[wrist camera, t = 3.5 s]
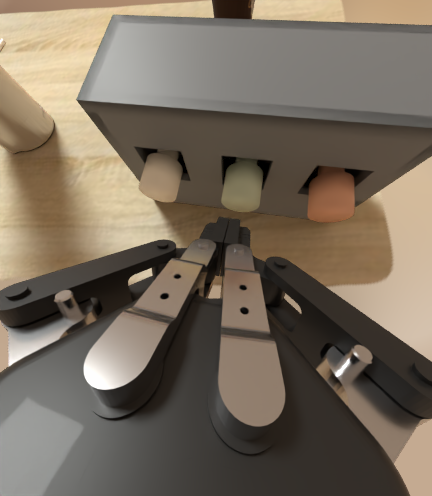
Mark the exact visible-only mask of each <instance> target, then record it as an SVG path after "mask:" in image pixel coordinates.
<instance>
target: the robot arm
mask: <svg viewBox="0 0 432 496" xmlns="http://www.w3.org/2000/svg"><path fill="white" fill-rule="evenodd" d="M53 127H54V123H53V119H52V118H51V116H50V115H49V114H48V113H47V112H46V111H45V110H44V109H43V108H42V107H41V106H40V105H39V104H38V103H37V102H36V101H35V100H34V99H33V98H32V97H31V96H30V95H29V94H28V93H27V92H26V91H25V90H24V89H23V88H22V87H21V86H20V85H19V84H18V83H17V82H16V81H15V80H14V79H13V78H12V77H11V76H10V75H9V74H8V73H7V72H6V71H5V70H4V69H3V68H2V67H1V66H0V145H1V146H2V147H4V148H5V149H7V150H8V151H10V152H11V153H13V154H14V153H16V152H18V151H28V150H32V149H35V148H37V147H39V146H41V145H42V144H43V143H44V142H46V141H47V139H48V138H49V137H50V135H51V134H52V131H53ZM149 268H152V273H153V276H151V277H148V278H146V279H144V280H141V281H139V282H137V283H134V284H132V285H130V286H128V280H129V278H130V277H131V276H133V275H134V274H137V273H139V272H142V271H144V270H147V269H149ZM220 270H221V273H220ZM219 274H220V276H222V277H223V278H222V286H221V297H220V299H208V296H209V293H210V290H211V288H212V285H213V280H214V277H215V275H216V276H219ZM285 293H286V294H287V295H289V296H290V297H291V298H292V299H293V300H294V301H295V302H296V303H298V305H299V306H300V308H301V311H302V314H300V313H299V312H298V311H297V310H296V309H295V308H294V307H293V306H291V304H289V303H288V302H287V301H286V300H285V299H284V296H285ZM0 320H1V323H2V325H3V326H4V328H5V329H6V330H7V331H8V335H9V336H8V337H9V339H8V341H9V342H8V347H9V367H7V368H6V369H4V370H3V371H2V372H0V496H410V494H409V492H408V490H407V487H406V485H405V483H404V481H403V479H402V477H401V475H400V474H399V472H398V470H397V469H396V467H395V465H394V462H395V461H396V459H397V458H398V456H399V454H400V453H401V451H402V449H403V448H404V446H405V445H406V443H407V441H408V440H409V438H410V436H411V435H412V433H413V432H414V430H415V429H416V427H418V426H419V425H421V424H423V423H425V422H427V421H429V420H431V419H432V362H431V361H430V360H428V359H427V358H425V357H424V356H423V355H421V354H420V353H418V352H417V351H415V350H414V349H413V348H411V347H410V346H408V345H407V344H406V343H404V342H403V341H401V340H400V339H398V338H397V337H396V336H394V335H393V334H391V333H390V332H389V331H387V330H386V329H384V328H383V327H382V326H380V325H379V324H377V323H376V322H375V321H373V320H372V319H370V318H369V317H367V316H366V315H365V314H363V313H362V312H360V311H359V310H358V309H356V308H355V307H353V306H352V305H350V304H349V303H348V302H346V301H345V300H343V299H342V298H341V297H339V296H338V295H336V294H335V293H333V292H332V291H331V290H329V289H328V288H326V287H325V286H324V285H322V284H321V283H319V282H318V281H317V280H315V279H314V278H312V277H311V276H310V275H308V274H307V273H305V272H304V271H302V270H301V269H300V268H298V267H297V266H295V265H294V264H293V263H291V262H290V261H288V260H286V259H284V258H281V257H270V258H268V259H267V260H266V262H265V261H262V260H259V259H257V258H255V257H254V256H253V255H252V251H251V249H250V230H249V229H248V228H246V227H240V220H239V219H232V218H230V221H229V218H224V217H219V218H218V221H217V223H209V224H207V225H206V226H205V228H204V230H203V232H202V234H201V236H200V238H199V239H198V240H195V241H193V242H192V243H191V244H190V246H189V247H188V248H176V244H175V243H174V242H173V241H170V240H157V241H154V242H151V243H147V244H144V245H141V246H137V247H134V248H131V249H128V250H124V251H121V252H118V253H114V254H111V255H108V256H105V257H101V258H98V259H95V260H92V261H88V262H85V263H82V264H78V265H75V266H72V267H69V268H65V269H62V270H59V271H56V272H52V273H49V274H46V275H42V276H39V277H36V278H33V279H29V280H26V281H23V282H19V283H16V284H13V285H11V286H9V287H6V288H5V289H3V290H1V291H0Z"/></svg>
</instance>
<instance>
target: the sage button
mask: <svg viewBox="0 0 432 496" xmlns="http://www.w3.org/2000/svg"><path fill="white" fill-rule="evenodd" d="M257 160H258V159H251V158H241V157H236V161H235V163H234V164H232V165H230V166H229V167H228V168H227V171H226V176H225V182H224V187H223V193H222V199H221V203H222V204H223V205H224V206H225V207H226V208H228V209H230V210H233V211H237V212H250V211H254V210H256V209H257V208H258V207H259V205H260V197H261V189H262V181H263V171H262V169H261V168H260V167H259V166H257Z"/></svg>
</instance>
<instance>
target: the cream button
mask: <svg viewBox="0 0 432 496" xmlns="http://www.w3.org/2000/svg"><path fill="white" fill-rule="evenodd" d="M179 154H180V151H172V150H162V149H158V150H157V153H151V154H149V155H148V156H147V160H146V163H145V166H144V170H143V173H142V177H141V180H140V183H139V190H140V191H141V192H142V193H143V194H144V195H146V196H147V197H149V198H151V199H154V200H157V201H161V202H173V201H175V200H176V197H177V193H178V189H179V185H180V180H181V176H182V172H183V169H182V166H181V164H180V163H179V162H178V158H179Z"/></svg>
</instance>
